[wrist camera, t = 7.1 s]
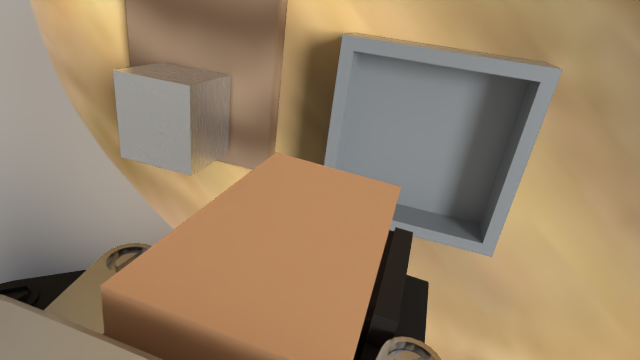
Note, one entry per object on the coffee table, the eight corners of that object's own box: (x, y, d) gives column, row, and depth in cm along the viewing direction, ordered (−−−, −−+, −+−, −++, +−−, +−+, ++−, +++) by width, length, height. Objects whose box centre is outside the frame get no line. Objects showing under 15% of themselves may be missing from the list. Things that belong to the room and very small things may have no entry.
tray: (355, 32, 26) (342, 34, 23) (547, 62, 23) (562, 69, 20) (330, 192, 31) (317, 211, 28) (486, 231, 28) (491, 257, 25)
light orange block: (276, 152, 12) (100, 285, 6) (401, 187, 11) (347, 380, 5) (259, 277, 14) (116, 472, 8) (364, 314, 14) (294, 562, 7)
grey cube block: (163, 62, 29) (112, 69, 25) (230, 75, 28) (189, 85, 24) (166, 137, 32) (120, 157, 27) (228, 152, 30) (191, 175, 26)
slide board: (127, -207, 25) (57, -256, 20) (304, -203, 22) (268, -259, 18) (147, 135, 34) (103, 153, 30) (273, 166, 32) (245, 190, 27)
